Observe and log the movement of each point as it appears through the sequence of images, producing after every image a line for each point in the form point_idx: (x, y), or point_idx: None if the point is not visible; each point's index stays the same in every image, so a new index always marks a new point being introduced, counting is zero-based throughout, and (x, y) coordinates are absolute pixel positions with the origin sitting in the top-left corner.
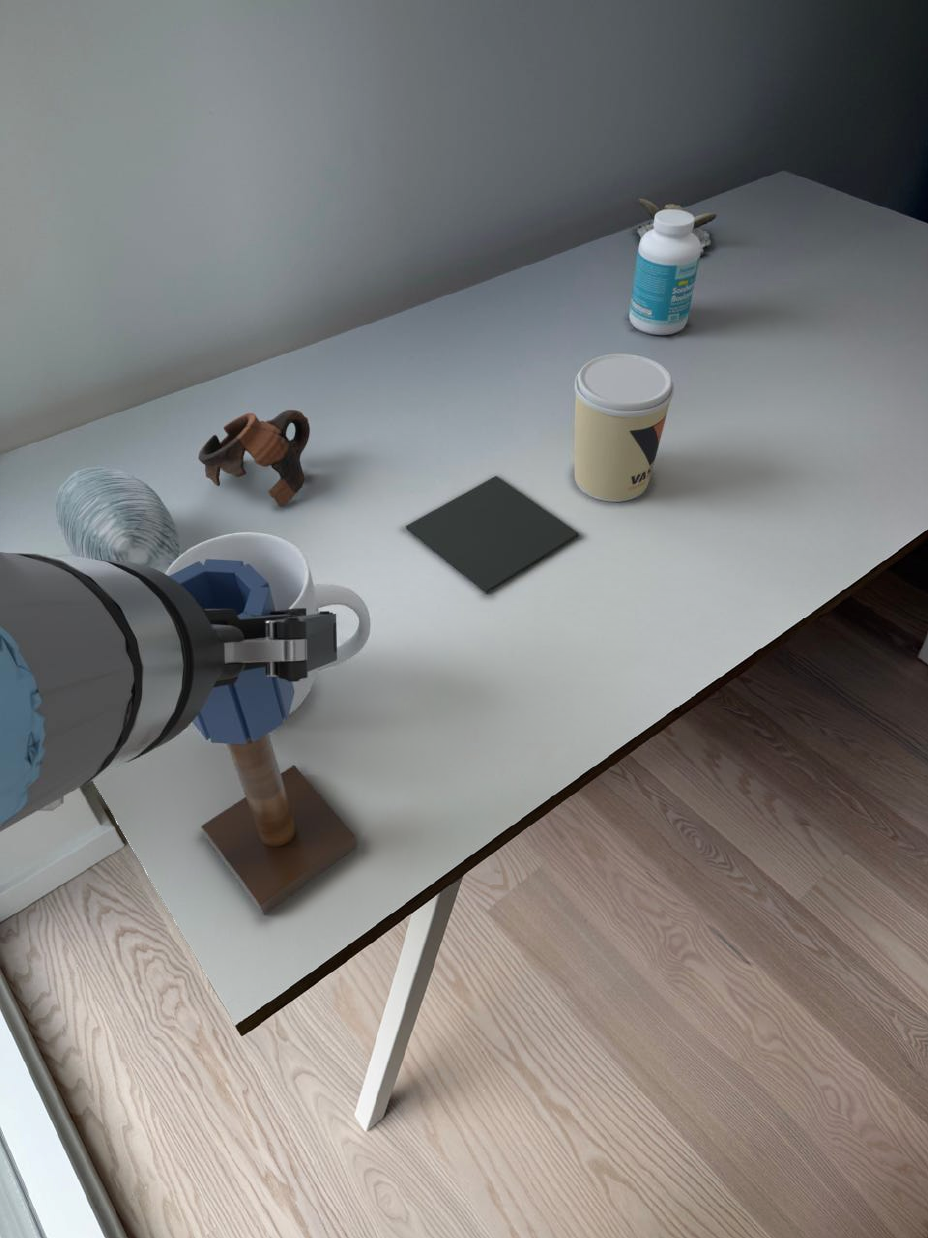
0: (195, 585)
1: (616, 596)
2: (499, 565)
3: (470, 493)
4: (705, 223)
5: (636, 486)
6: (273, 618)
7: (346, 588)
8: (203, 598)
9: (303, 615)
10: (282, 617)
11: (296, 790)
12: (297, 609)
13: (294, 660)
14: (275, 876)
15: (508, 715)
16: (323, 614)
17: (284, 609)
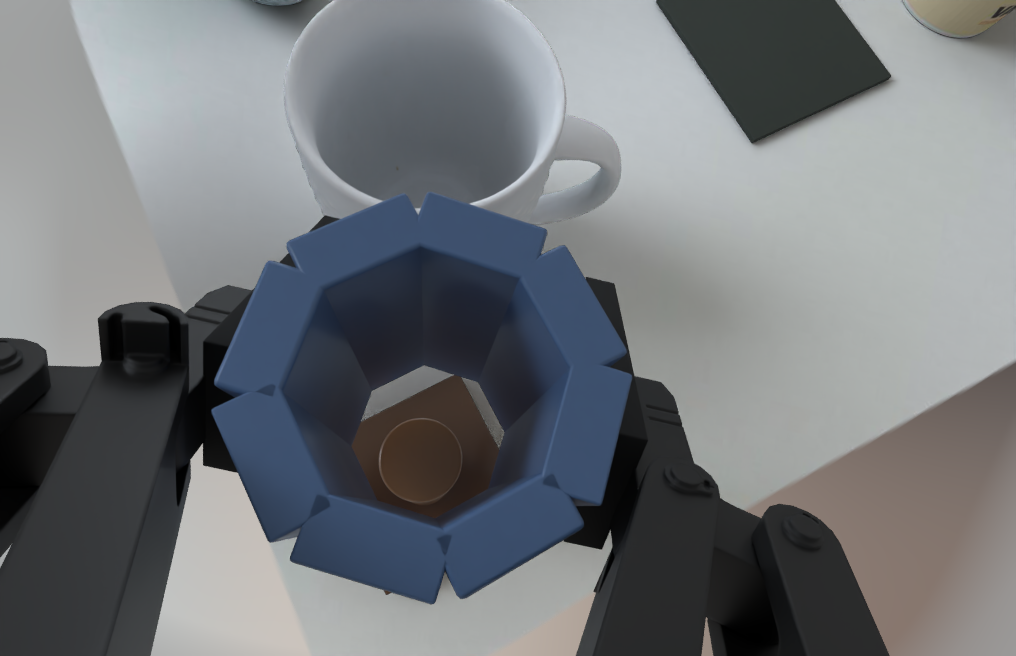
0: (382, 279)
1: (922, 193)
2: (777, 101)
3: None
4: None
5: (991, 22)
6: (697, 648)
7: (605, 132)
8: (396, 294)
9: (718, 495)
10: (706, 596)
11: (457, 417)
12: (622, 330)
13: None
14: None
15: (753, 350)
16: (810, 550)
17: (482, 119)
